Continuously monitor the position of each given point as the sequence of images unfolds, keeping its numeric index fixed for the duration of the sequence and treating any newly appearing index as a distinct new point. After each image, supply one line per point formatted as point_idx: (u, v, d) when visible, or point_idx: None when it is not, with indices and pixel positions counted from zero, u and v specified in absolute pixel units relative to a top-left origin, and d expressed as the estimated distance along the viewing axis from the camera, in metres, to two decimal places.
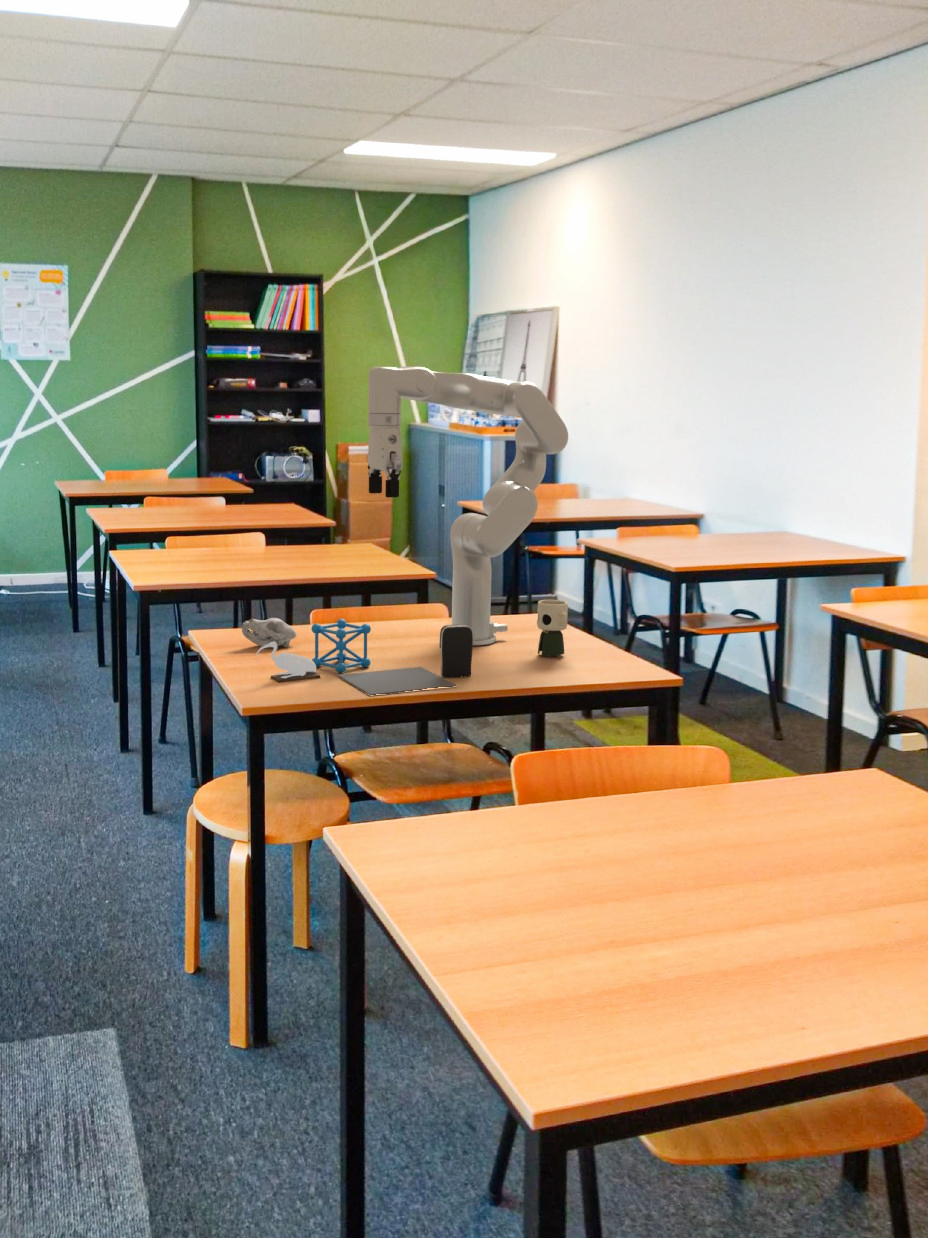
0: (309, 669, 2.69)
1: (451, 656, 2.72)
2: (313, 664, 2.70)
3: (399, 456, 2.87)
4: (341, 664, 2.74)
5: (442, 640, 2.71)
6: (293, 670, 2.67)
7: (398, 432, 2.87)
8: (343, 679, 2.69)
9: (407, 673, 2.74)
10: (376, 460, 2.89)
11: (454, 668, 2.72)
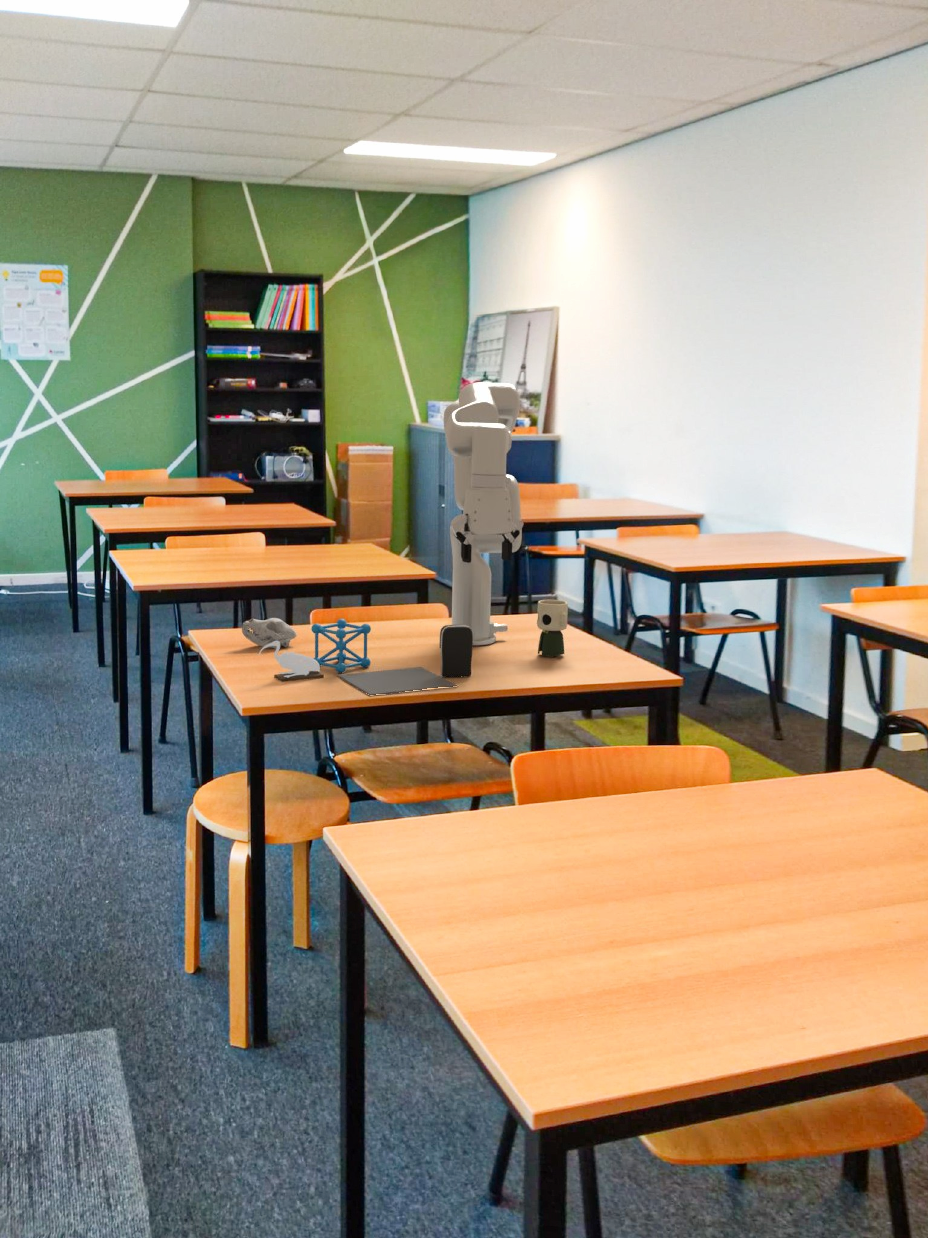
0: (312, 668, 2.70)
1: (451, 656, 2.72)
2: (317, 664, 2.71)
3: None
4: (341, 664, 2.74)
5: (442, 640, 2.71)
6: (296, 669, 2.68)
7: None
8: (343, 679, 2.69)
9: (407, 673, 2.74)
10: (495, 524, 2.71)
11: (454, 668, 2.72)
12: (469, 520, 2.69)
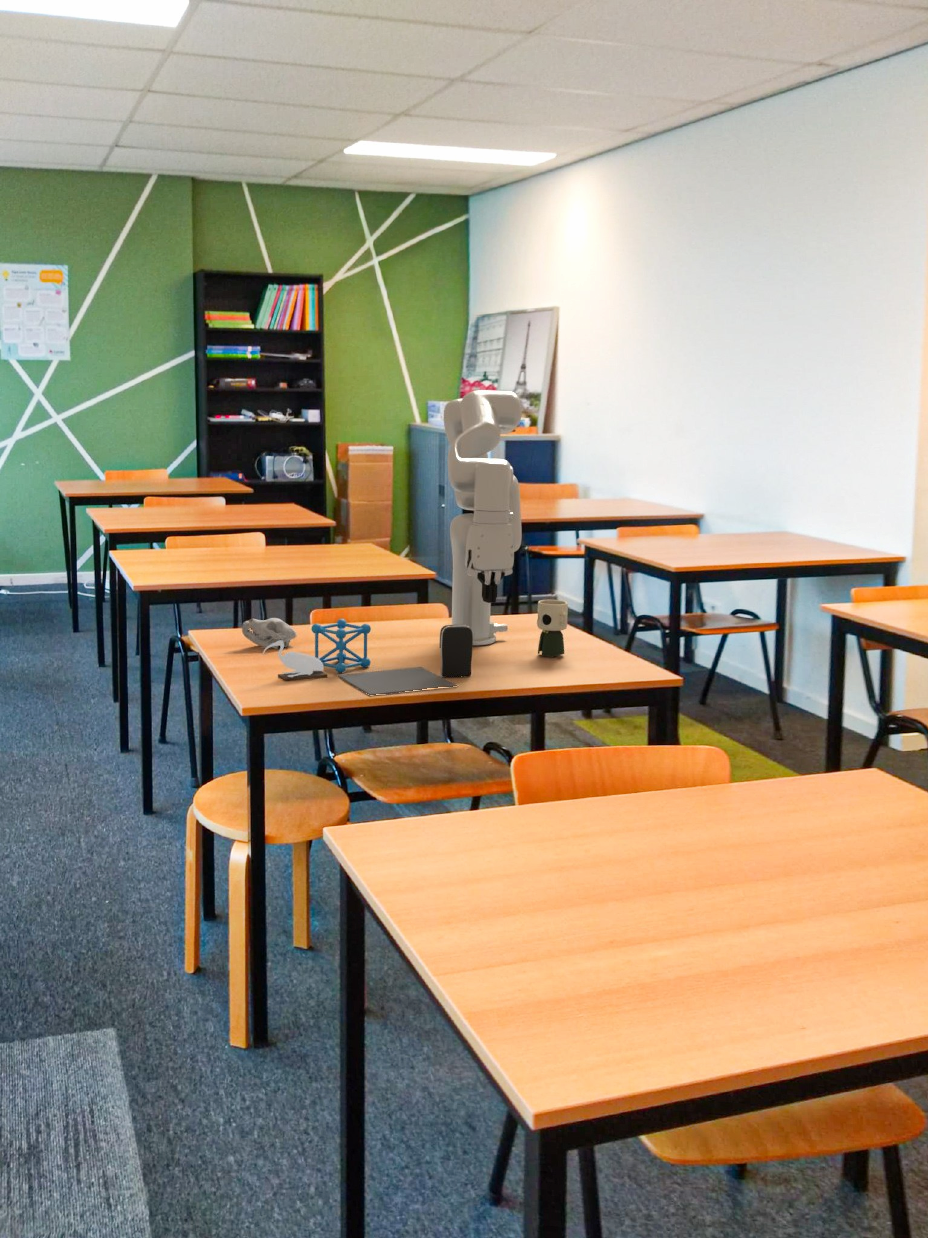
0: (316, 668, 2.70)
1: (451, 656, 2.72)
2: (321, 663, 2.71)
3: None
4: (341, 664, 2.74)
5: (442, 640, 2.71)
6: (300, 669, 2.68)
7: None
8: (343, 679, 2.69)
9: (407, 673, 2.74)
10: (499, 560, 2.71)
11: (454, 668, 2.72)
12: (472, 556, 2.69)
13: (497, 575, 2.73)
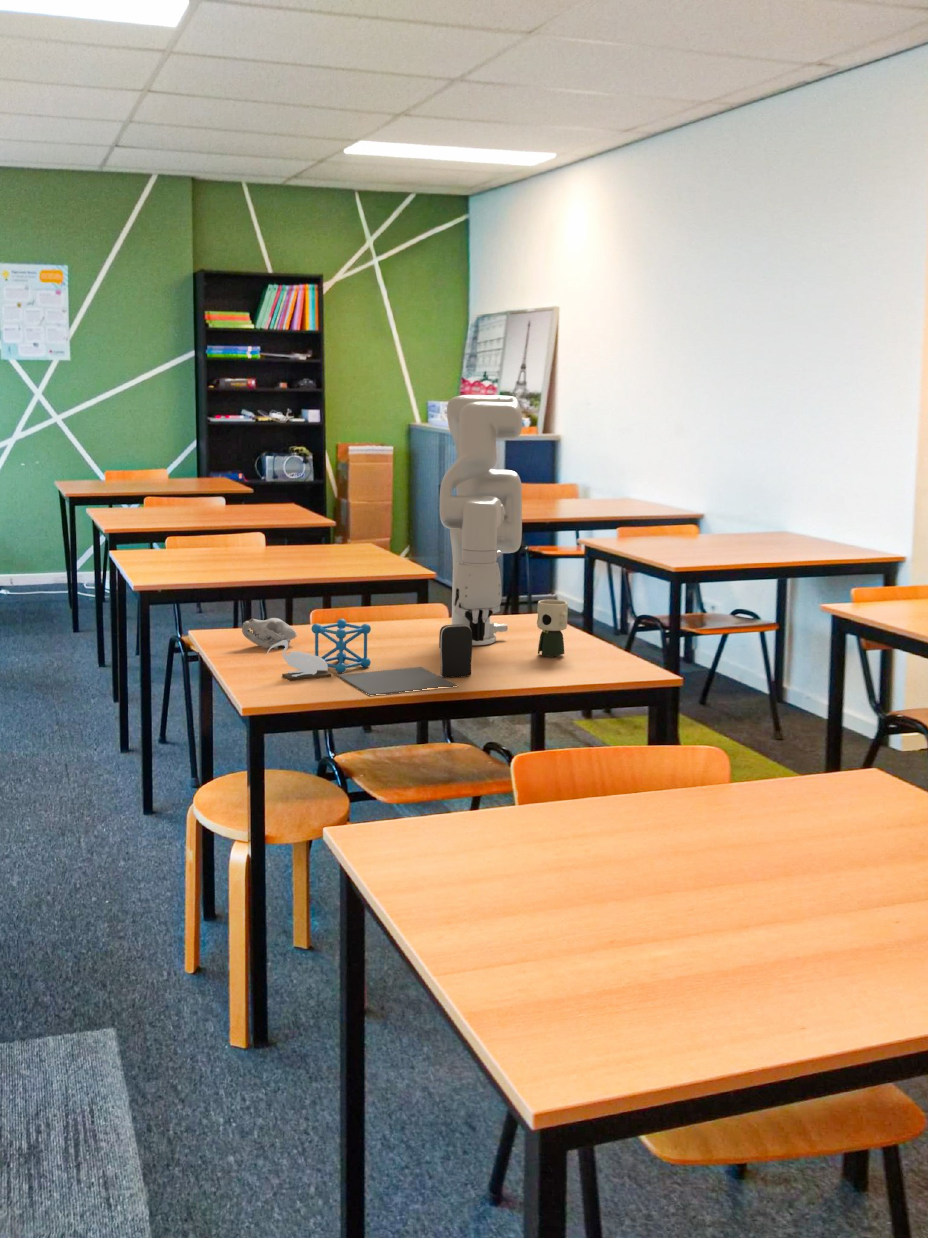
0: (320, 668, 2.71)
1: (451, 656, 2.71)
2: (325, 663, 2.72)
3: None
4: (341, 664, 2.74)
5: (442, 640, 2.71)
6: (304, 668, 2.69)
7: None
8: (343, 679, 2.69)
9: (407, 673, 2.74)
10: (486, 599, 2.72)
11: (454, 668, 2.72)
12: (460, 595, 2.70)
13: (485, 613, 2.74)
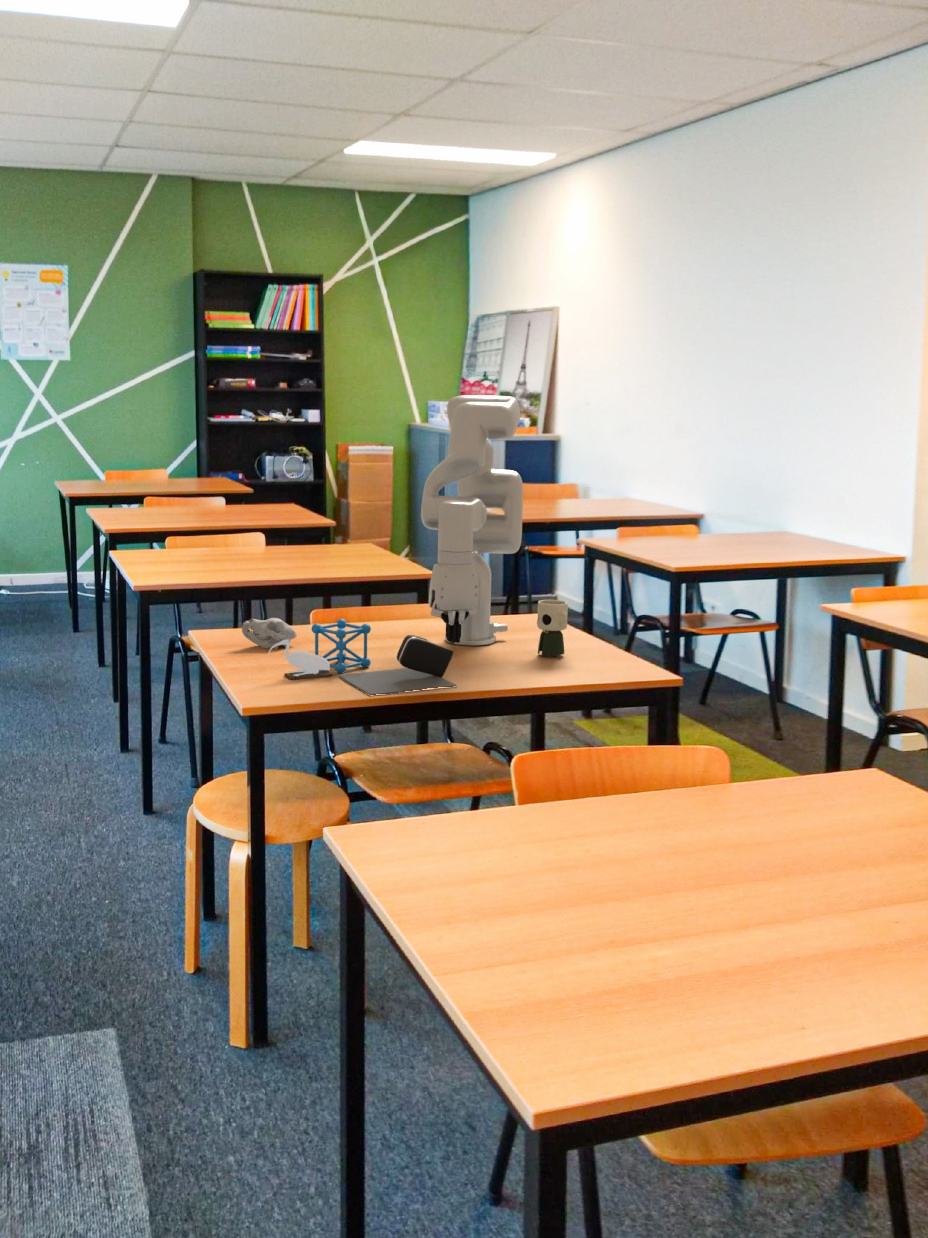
0: (322, 667, 2.71)
1: (427, 664, 2.69)
2: (327, 663, 2.72)
3: None
4: (341, 664, 2.74)
5: (409, 668, 2.68)
6: (306, 668, 2.69)
7: None
8: (343, 679, 2.69)
9: (407, 673, 2.74)
10: (462, 600, 2.69)
11: (439, 665, 2.71)
12: (436, 597, 2.67)
13: (461, 615, 2.71)
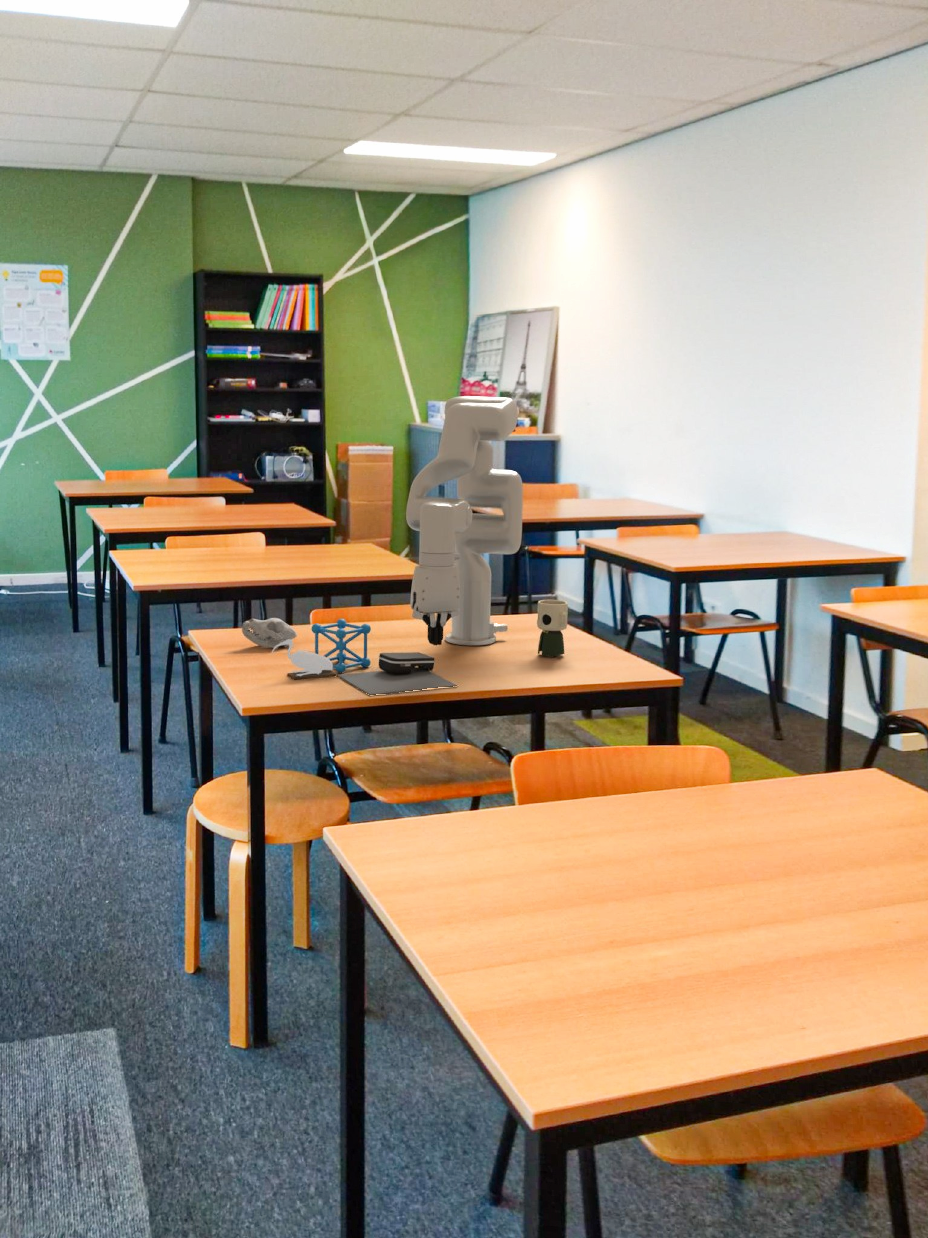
0: (325, 667, 2.71)
1: (412, 656, 2.75)
2: (330, 662, 2.72)
3: None
4: (341, 664, 2.74)
5: (404, 660, 2.71)
6: (309, 668, 2.69)
7: None
8: (343, 679, 2.69)
9: None
10: (444, 602, 2.68)
11: (421, 655, 2.77)
12: (417, 599, 2.66)
13: (443, 617, 2.69)
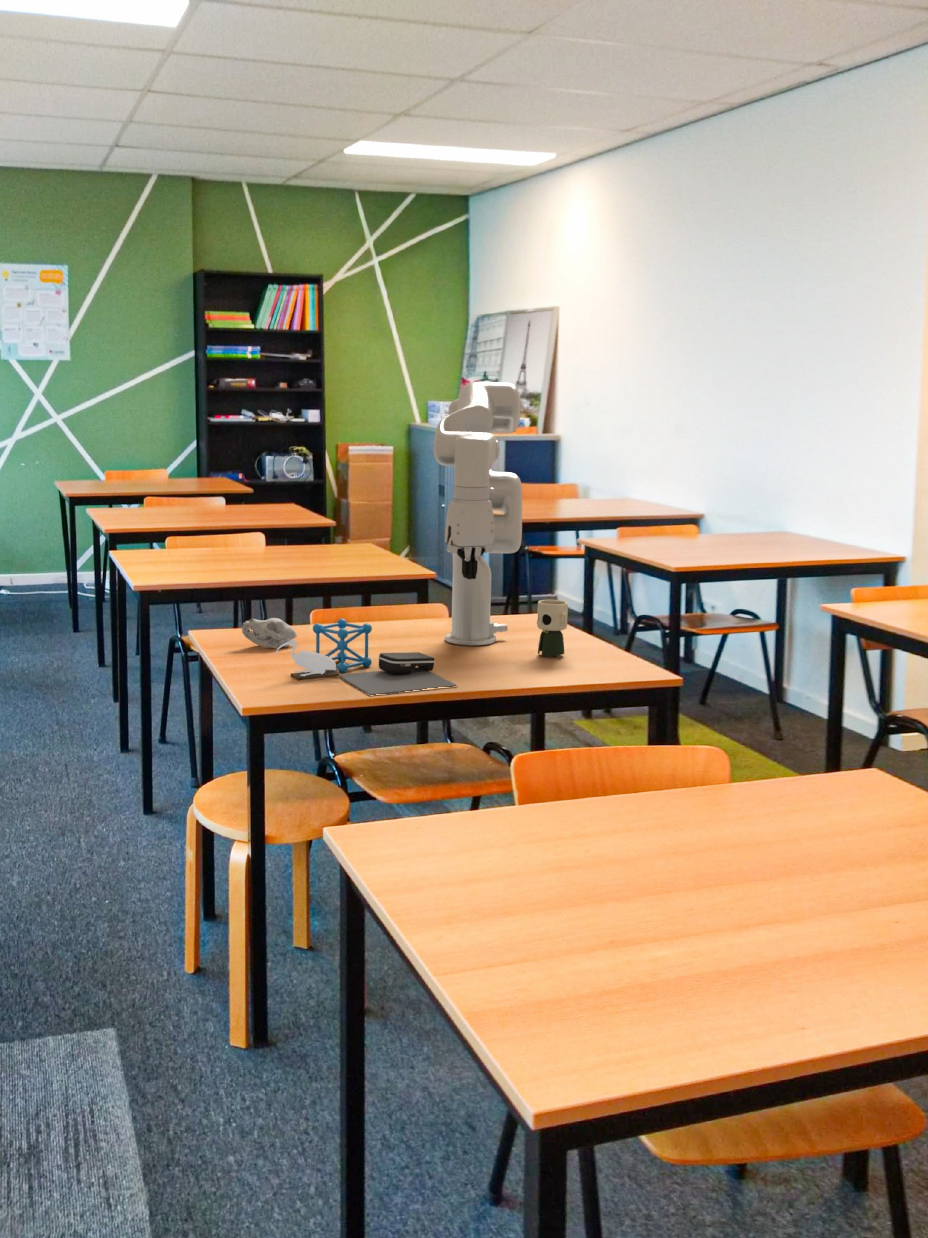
0: (328, 667, 2.71)
1: (412, 656, 2.75)
2: (333, 662, 2.72)
3: None
4: (343, 664, 2.75)
5: (404, 660, 2.71)
6: (312, 668, 2.69)
7: None
8: (343, 679, 2.69)
9: None
10: (479, 536, 2.69)
11: (421, 655, 2.77)
12: (452, 532, 2.67)
13: (477, 551, 2.71)
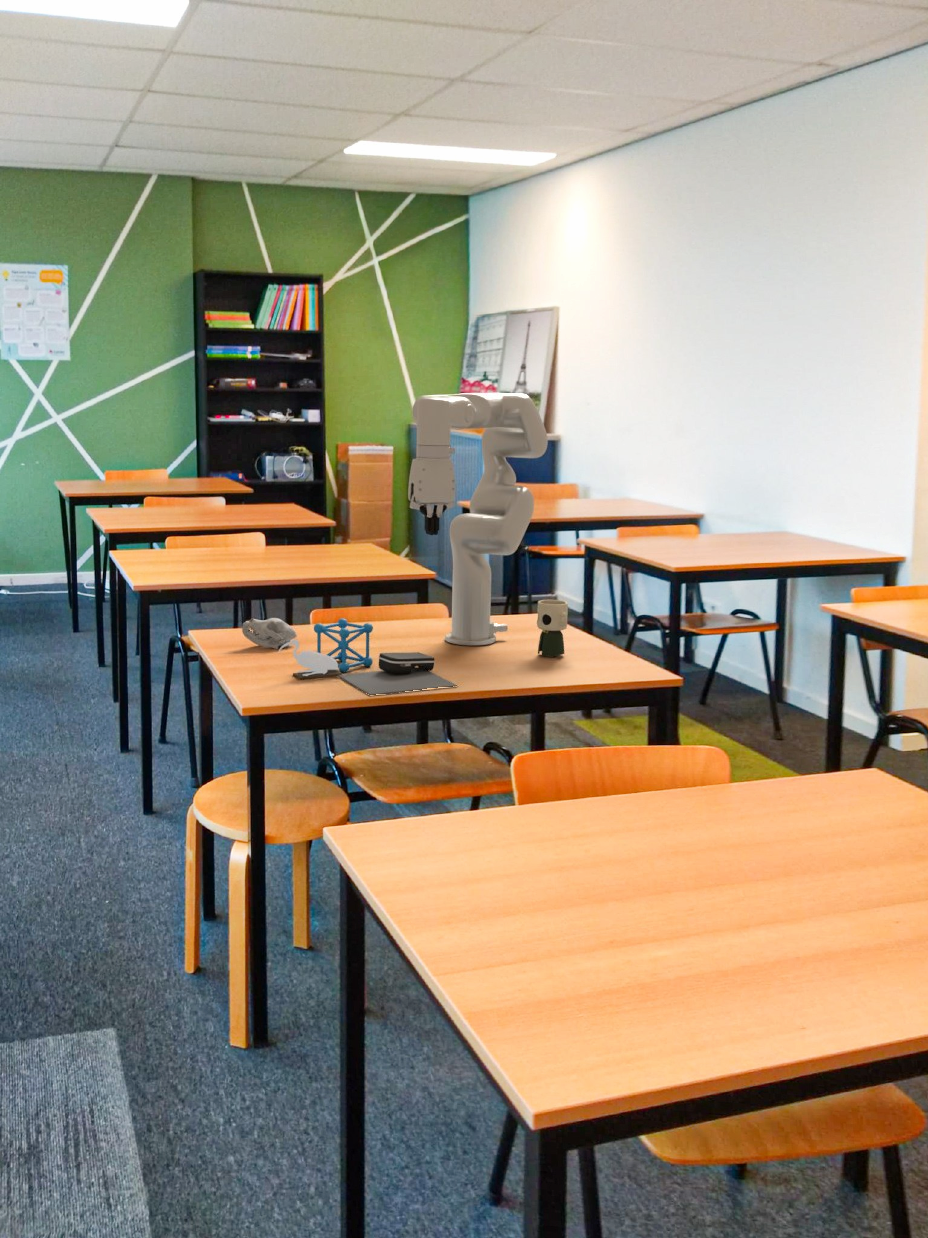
0: (331, 667, 2.71)
1: (412, 656, 2.75)
2: (335, 662, 2.72)
3: None
4: (345, 663, 2.75)
5: (404, 660, 2.71)
6: (315, 668, 2.69)
7: None
8: (343, 679, 2.69)
9: None
10: (440, 493, 2.81)
11: (421, 655, 2.77)
12: (414, 489, 2.79)
13: (439, 508, 2.83)
